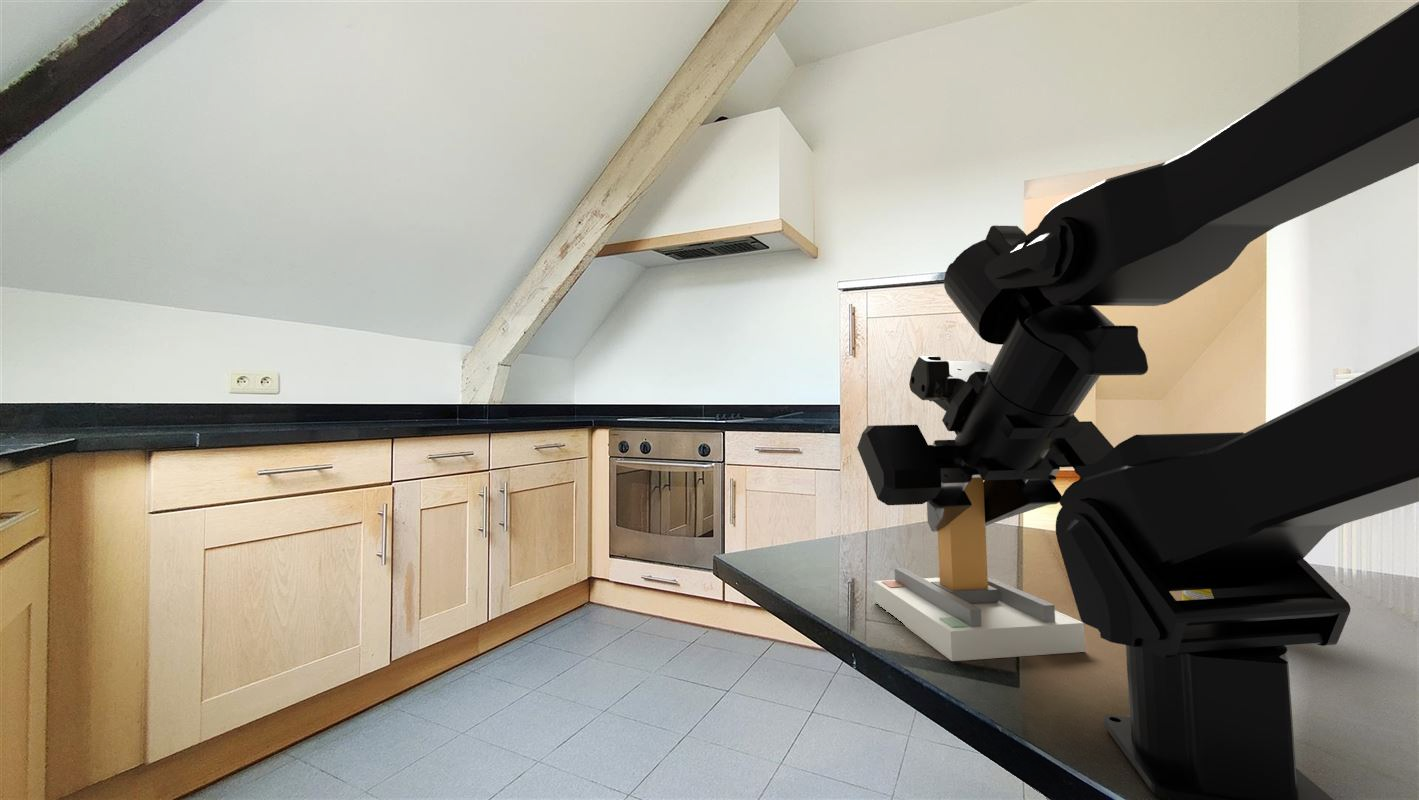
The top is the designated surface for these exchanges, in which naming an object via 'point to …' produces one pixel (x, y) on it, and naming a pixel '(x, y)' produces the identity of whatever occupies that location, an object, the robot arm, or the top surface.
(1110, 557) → the robot arm
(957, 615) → the plate
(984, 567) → the handle
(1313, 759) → the top surface
